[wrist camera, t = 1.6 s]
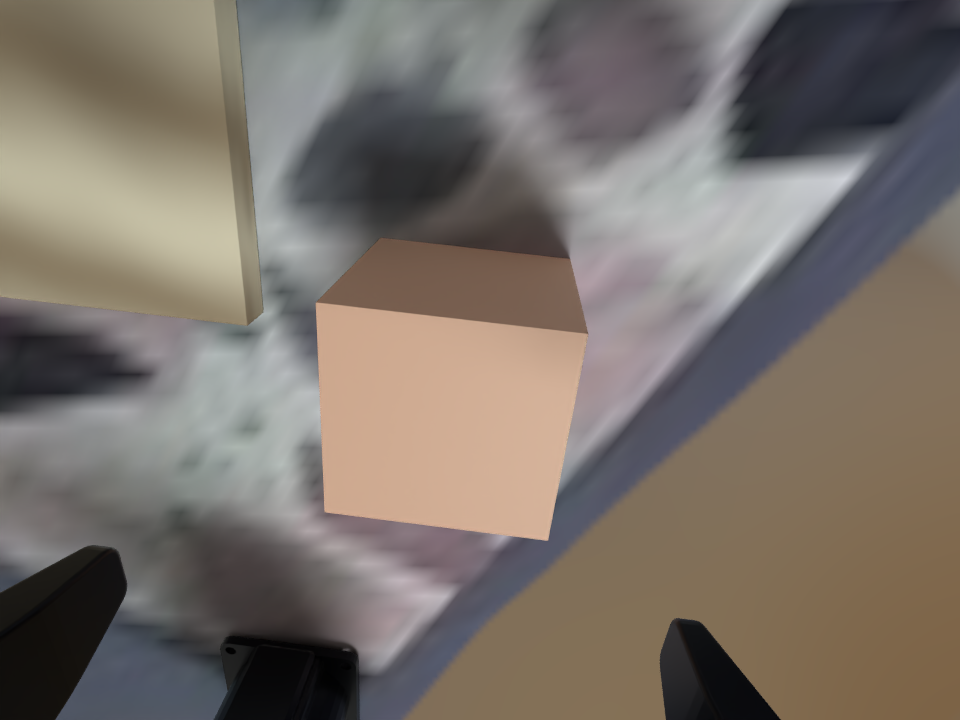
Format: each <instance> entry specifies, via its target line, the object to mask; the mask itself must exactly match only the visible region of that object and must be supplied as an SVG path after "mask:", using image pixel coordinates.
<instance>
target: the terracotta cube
mask: <svg viewBox="0 0 960 720" xmlns="http://www.w3.org/2000/svg"><path fill="white" fill-rule="evenodd" d="M316 317H317V340H318V364H319V387H320V411H321V434H322V457H323V481H324V504H325V512H327V513H335V514H343V515H351V516H359V517H366V518H374V519H382V520H390V521H398V522H406V523H413V524H421V525H429V526H437V527H445V528H453V529H460V530H468V531H476V532H484V533H492V534H500V535H507V536H515V537H523V538H531V539H539V540H546V541H548V537H549V532H550V527H551V522H552V517H553V511H554V506H555V501H556V496H557V491H558V486H559V481H560V476H561V471H562V466H563V460H564V455H565V450H566V445H567V440H568V435H569V430H570V425H571V420H572V414H573V409H574V404H575V399H576V394H577V389H578V384H579V379H580V374H581V369H582V363H583V358H584V353H585V348H586V343H587V338H588V331H587V327H586V323H585V319H584V314H583V310H582V306H581V302H580V298H579V294H578V290H577V286H576V281H575V277H574V273H573V269H572V265H571V261H570V259H566V258H557V257H548V256H539V255H530V254H521V253H513V252H504V251H495V250H486V249H477V248H468V247H459V246H450V245H441V244H432V243H423V242H414V241H405V240H396V239H387V238H380V239H379V240H378V241H377V242H376V243H375V244H374V245H373V246H372V247H371V248H370V249H369V250H368V251H367V252H366V253H365V254H364V255H363V256H362V257H361V258H360V259H359V260H358V261H357V262H356V263H355V264H354V265H353V266H352V267H351V268H350V269H349V270H348V271H347V272H346V273H345V274H344V275H343V276H342V277H341V278H340V279H339V280H338V281H337V282H336V283H335V284H334V285H333V286H332V287H331V288H330V289H329V290H328V291H327V292H326V293H325V294H324V295H323V296H322V297H321V298H320V299H319V300H318V301H317V302H316Z"/></svg>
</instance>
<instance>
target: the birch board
mask: <svg viewBox="0 0 960 720" xmlns="http://www.w3.org/2000/svg"><path fill="white" fill-rule="evenodd" d="M0 297H7V298H15V299H24V300H32V301H41V302H49V303H58V304H67V305H75V306H84V307H92V308H101V309H109V310H118V311H126V312H135V313H143V314H152V315H160V316H169V317H178V318H186V319H195V320H203V321H212V322H220V323H229V324H237V325H246V326H248V325H249V324H250V323H251V322H252V321H254V320H255V319H256V318H257V317H258V316H259V315H261V314H262V313H263V303H262V291H261V280H260V269H259V257H258V246H257V235H256V223H255V212H254V201H253V189H252V178H251V167H250V155H249V144H248V133H247V121H246V110H245V99H244V87H243V76H242V65H241V53H240V42H239V31H238V19H237V8H236V0H0Z"/></svg>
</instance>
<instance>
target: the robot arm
mask: <svg viewBox="0 0 960 720" xmlns="http://www.w3.org/2000/svg"><path fill="white" fill-rule="evenodd" d="M126 590H127V580H126V576H125V573H124V569H123V566H122V562H121V558H120V555H119V552H118V551H117V550H116V549H115V548H112V547H105V546H97V545H91V546H87V547H84V548H82V549H80V550H78V551H77V552H75V553H73V554H71V555H69V556H67V557H65V558H64V559H62V560H60V561H58V562H56V563H54V564H52V565H51V566H49V567H47V568H45V569H43V570H41V571H40V572H38V573H36V574H34V575H32V576H30V577H28V578H27V579H25V580H23V581H21V582H19V583H17V584H15V585H14V586H12V587H10V588H8V589H6V590H4V591H2V592H1V593H0V720H55V719H56V718H57V716H58V715H59V713H60V712H61V710H62V709H63V707H64V705H65V704H66V702H67V701H68V699H69V698H70V696H71V694H72V693H73V691H74V689H75V688H76V686H77V684H78V682H79V681H80V679H81V677H82V675H83V673H84V672H85V670H86V668H87V666H88V664H89V662H90V660H91V659H92V657H93V655H94V653H95V651H96V649H97V648H98V646H99V644H100V642H101V640H102V638H103V636H104V635H105V633H106V631H107V629H108V627H109V625H110V623H111V622H112V620H113V618H114V616H115V614H116V612H117V611H118V609H119V607H120V605H121V603H122V601H123V599H124V597H125V594H126ZM220 651H221V656H222V662H223V667H224V673H225V679H226V684H227V690H228V692H227V694H226V696H225V698H224V700H223V702H222V704H221V706H220V708H219V710H218V712H217V714H216V716H215V718H214V720H359V659H358V657H357V656H356V655H355V654H354V653H352V652H348V651H341V650H333V649H326V648H318V647H311V646H303V645H296V644H288V643H281V642H274V641H266V640H259V639H251V638H244V637H236V636H229V637H226V638H225V640H224V642H223V643H222V645H221V648H220ZM660 672H661V680H662V689H663V698H664V707H665V716H666V720H781V719H780V718H779V717H778V716H777V714H776V713H775V712H774V711H773V710H772V708H771V707H770V706H769V705H768V703H767V702H766V701H765V700H764V699H763V697H762V696H761V695H760V694H759V692H758V691H757V690H756V689H755V687H754V686H753V685H752V684H751V682H750V681H749V680H748V679H747V678H746V676H745V675H744V674H743V673H742V672H741V670H740V669H739V668H738V667H737V665H736V664H735V663H734V662H733V660H732V659H731V658H730V657H729V655H728V654H727V653H726V652H725V651H724V649H723V648H722V647H721V646H720V644H719V643H718V642H717V641H716V640H715V638H714V637H713V636H712V635H711V633H710V632H709V631H708V630H707V628H706V627H705V626H704V625H703V624H702V623H700V622H699V621H695V620H687V619H680V618H676V619H674V620H673V621H672V622H671V624H670V627H669V630H668V633H667V635H666V638H665V641H664V644H663V647H662V650H661V654H660Z"/></svg>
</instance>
